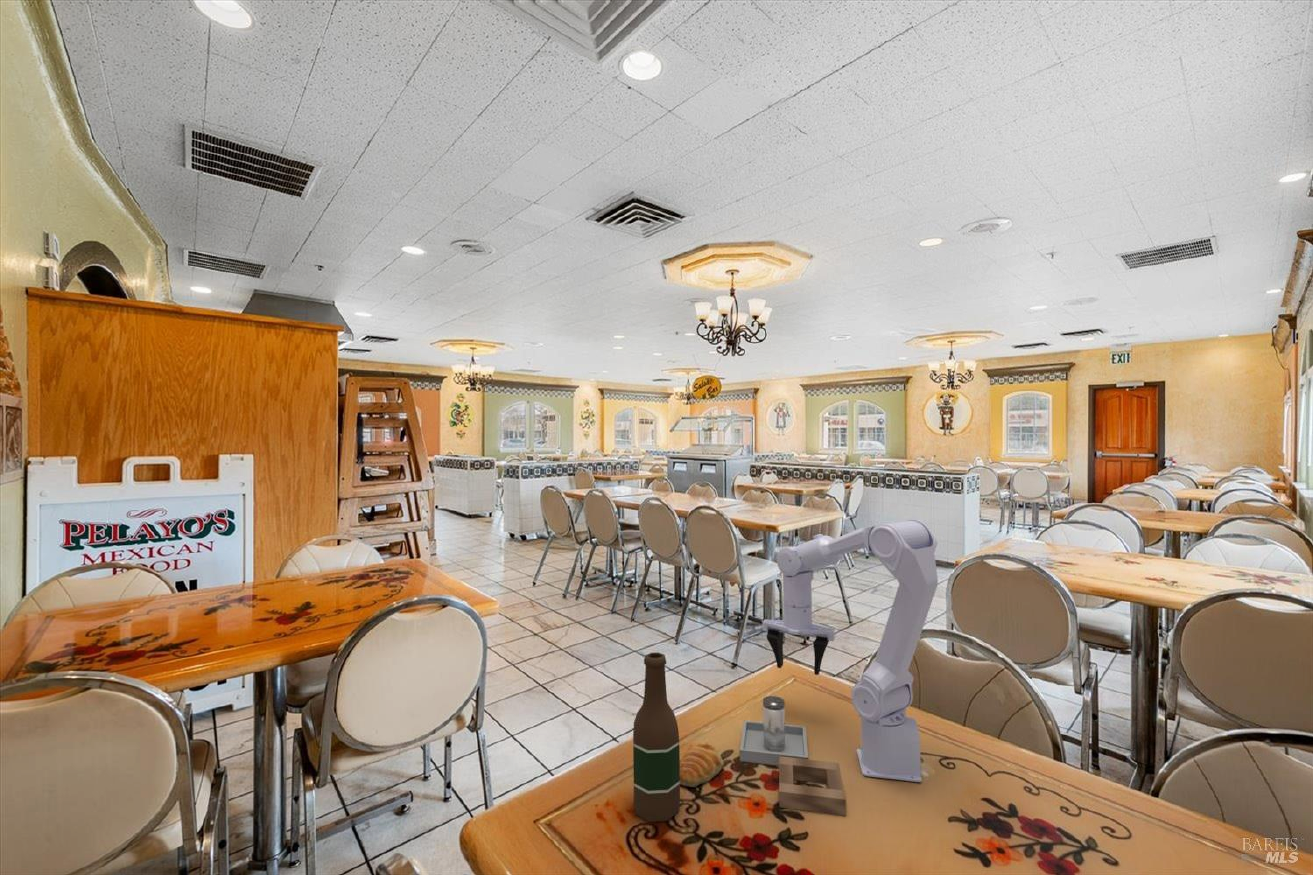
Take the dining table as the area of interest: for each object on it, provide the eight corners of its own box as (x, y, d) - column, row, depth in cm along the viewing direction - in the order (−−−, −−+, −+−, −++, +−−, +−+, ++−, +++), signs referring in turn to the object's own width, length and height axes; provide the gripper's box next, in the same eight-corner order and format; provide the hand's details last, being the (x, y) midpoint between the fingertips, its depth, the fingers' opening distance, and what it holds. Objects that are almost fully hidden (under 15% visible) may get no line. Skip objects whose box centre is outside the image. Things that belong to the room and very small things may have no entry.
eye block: (838, 777, 94) (838, 762, 94) (845, 815, 85) (845, 799, 85) (779, 770, 97) (779, 756, 97) (779, 807, 87) (779, 791, 87)
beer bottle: (686, 797, 90) (685, 649, 90) (672, 828, 82) (671, 667, 83) (642, 788, 92) (640, 644, 92) (624, 817, 85) (623, 661, 85)
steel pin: (769, 738, 106) (768, 694, 106) (788, 744, 104) (788, 699, 104) (759, 747, 103) (759, 701, 103) (779, 754, 101) (779, 707, 101)
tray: (805, 736, 108) (805, 726, 108) (808, 768, 97) (808, 757, 97) (743, 730, 110) (743, 720, 110) (739, 761, 100) (739, 749, 100)
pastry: (700, 796, 90) (699, 772, 90) (665, 782, 94) (665, 760, 94) (726, 768, 98) (725, 746, 98) (693, 756, 102) (693, 735, 102)
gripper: (758, 604, 114) (758, 670, 114) (829, 613, 108) (830, 683, 107) (767, 596, 121) (768, 658, 120) (836, 604, 114) (837, 670, 114)
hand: (798, 669), depth 114 cm, fingers open, 7 cm apart
